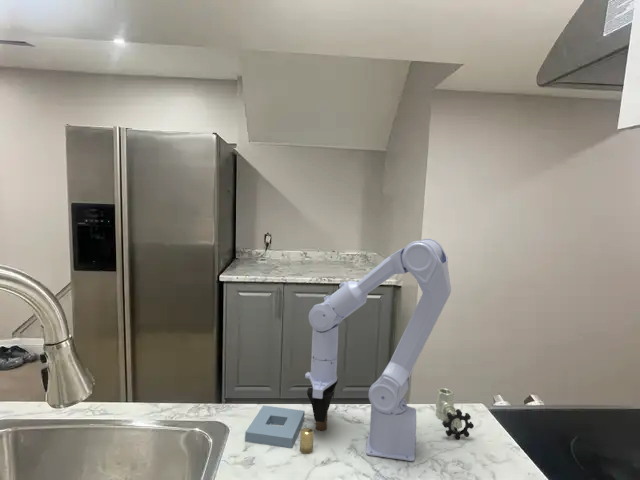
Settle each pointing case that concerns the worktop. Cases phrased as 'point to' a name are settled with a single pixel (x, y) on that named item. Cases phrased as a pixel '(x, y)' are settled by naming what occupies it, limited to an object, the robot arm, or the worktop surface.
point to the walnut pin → (322, 424)
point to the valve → (451, 414)
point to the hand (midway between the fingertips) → (321, 415)
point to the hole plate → (275, 434)
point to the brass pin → (306, 441)
